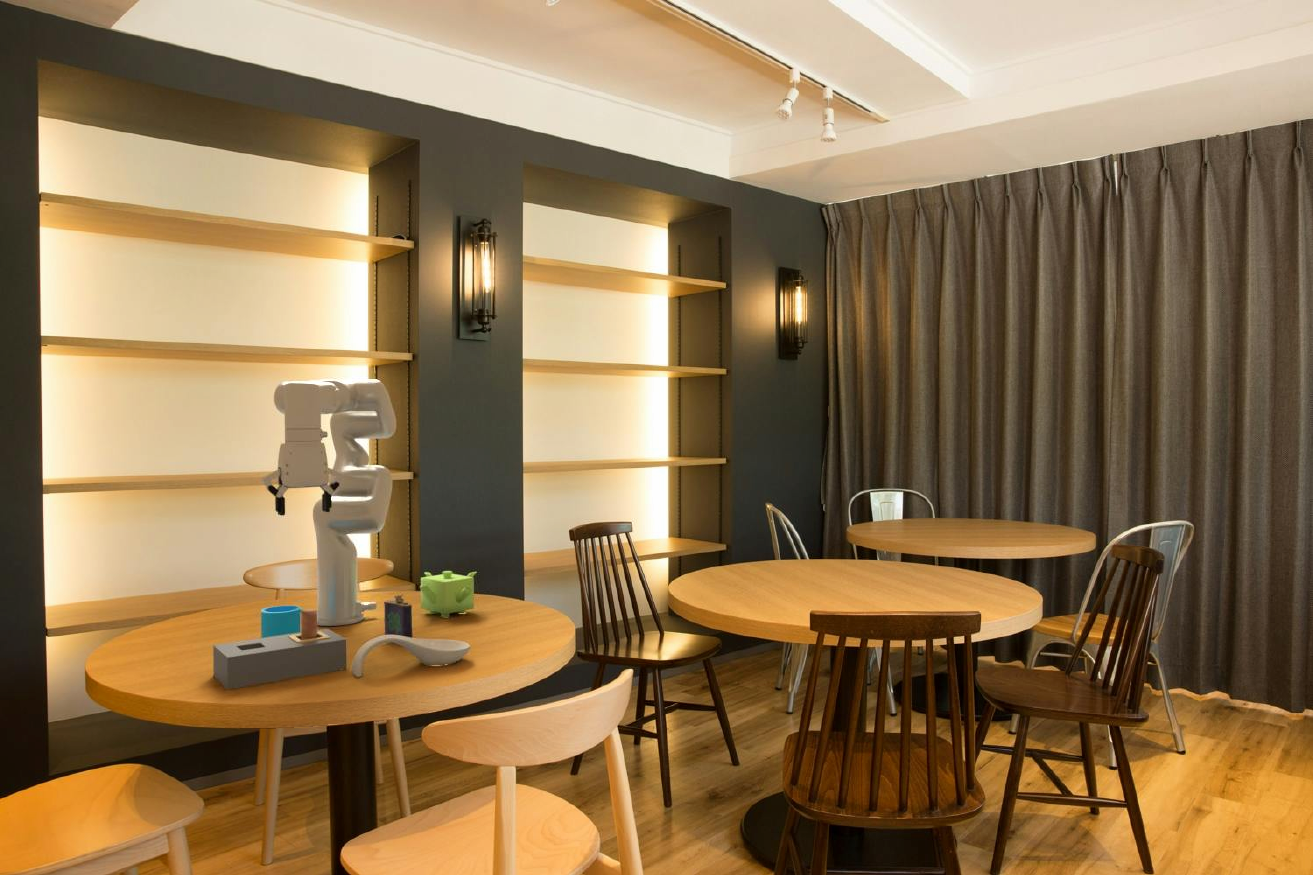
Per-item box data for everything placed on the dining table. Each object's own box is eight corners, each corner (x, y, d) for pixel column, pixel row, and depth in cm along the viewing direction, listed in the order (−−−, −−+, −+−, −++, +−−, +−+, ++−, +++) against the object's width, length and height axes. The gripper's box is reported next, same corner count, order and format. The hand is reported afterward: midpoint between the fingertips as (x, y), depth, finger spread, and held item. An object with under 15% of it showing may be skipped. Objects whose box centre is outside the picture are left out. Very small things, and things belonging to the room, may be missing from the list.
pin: (314, 657, 176) (314, 608, 176) (319, 659, 173) (319, 610, 173) (299, 659, 174) (299, 610, 174) (304, 662, 172) (303, 612, 172)
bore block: (327, 656, 182) (327, 627, 182) (346, 668, 172) (346, 637, 172) (213, 675, 168) (213, 643, 168) (227, 689, 159) (227, 655, 159)
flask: (382, 639, 197) (382, 593, 197) (393, 637, 199) (393, 591, 199) (405, 646, 191) (405, 598, 191) (416, 643, 193) (416, 596, 193)
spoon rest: (457, 652, 186) (457, 619, 186) (479, 664, 176) (478, 630, 176) (346, 670, 173) (345, 635, 172) (362, 684, 163) (362, 647, 163)
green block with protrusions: (424, 608, 231) (424, 567, 231) (477, 607, 233) (477, 566, 233) (414, 620, 216) (414, 576, 216) (471, 619, 218) (471, 575, 218)
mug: (270, 651, 186) (270, 614, 186) (255, 645, 192) (254, 609, 192) (323, 641, 195) (323, 606, 195) (307, 636, 200) (307, 601, 200)
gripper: (336, 435, 199) (337, 509, 199) (257, 437, 188) (258, 514, 188) (347, 436, 193) (348, 511, 193) (266, 438, 182) (267, 517, 182)
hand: (304, 513), depth 191 cm, fingers open, 9 cm apart
